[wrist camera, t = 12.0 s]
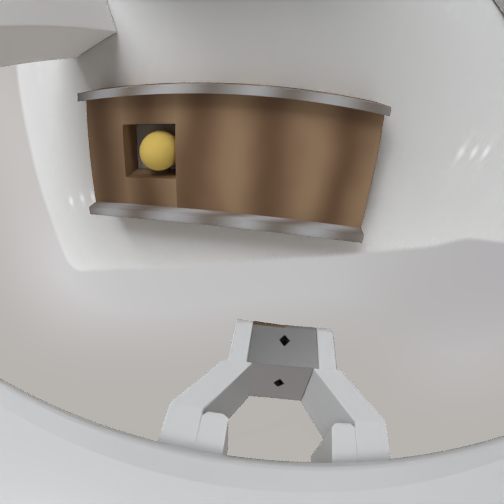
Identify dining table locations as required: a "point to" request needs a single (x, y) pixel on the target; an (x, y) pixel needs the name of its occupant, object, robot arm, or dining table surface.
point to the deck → (238, 156)
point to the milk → (51, 29)
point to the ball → (158, 150)
